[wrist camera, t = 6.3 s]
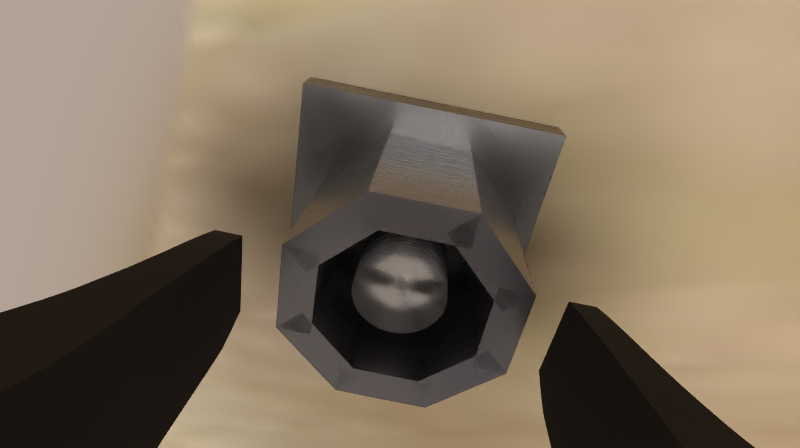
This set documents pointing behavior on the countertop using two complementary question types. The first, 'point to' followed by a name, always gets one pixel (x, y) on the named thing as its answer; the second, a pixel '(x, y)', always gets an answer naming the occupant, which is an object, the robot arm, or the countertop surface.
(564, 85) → the countertop surface
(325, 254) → the octagonal tube
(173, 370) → the robot arm
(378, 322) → the square base with peg
